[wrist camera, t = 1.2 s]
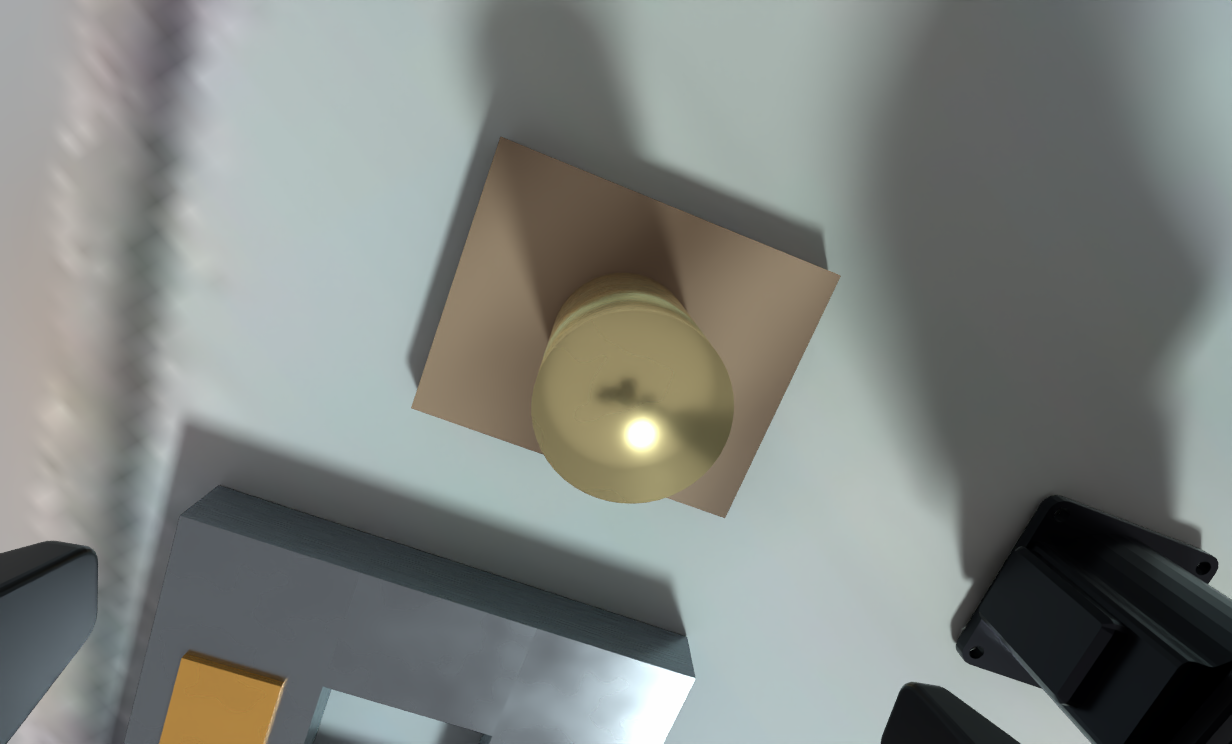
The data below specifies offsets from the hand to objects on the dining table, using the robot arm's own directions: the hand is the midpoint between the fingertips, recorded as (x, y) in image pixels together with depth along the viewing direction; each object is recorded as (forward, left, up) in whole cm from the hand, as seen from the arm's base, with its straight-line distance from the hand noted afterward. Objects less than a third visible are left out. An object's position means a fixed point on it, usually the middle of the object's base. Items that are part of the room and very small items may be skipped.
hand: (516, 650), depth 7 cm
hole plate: (+1, +15, -13) cm, 20 cm away
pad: (-1, -1, -13) cm, 13 cm away
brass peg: (-1, -1, -12) cm, 12 cm away
